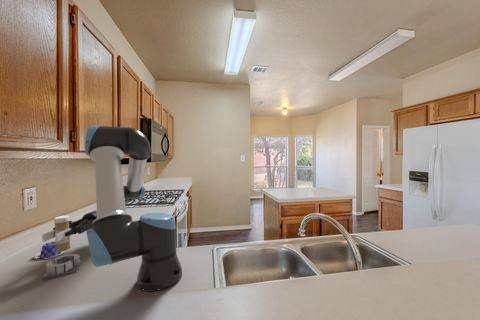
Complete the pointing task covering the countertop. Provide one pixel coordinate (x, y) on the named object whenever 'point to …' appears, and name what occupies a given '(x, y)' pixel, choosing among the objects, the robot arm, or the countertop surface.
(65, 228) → the sprinkles bottle
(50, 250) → the checkered hat
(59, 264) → the collar
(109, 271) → the countertop surface
